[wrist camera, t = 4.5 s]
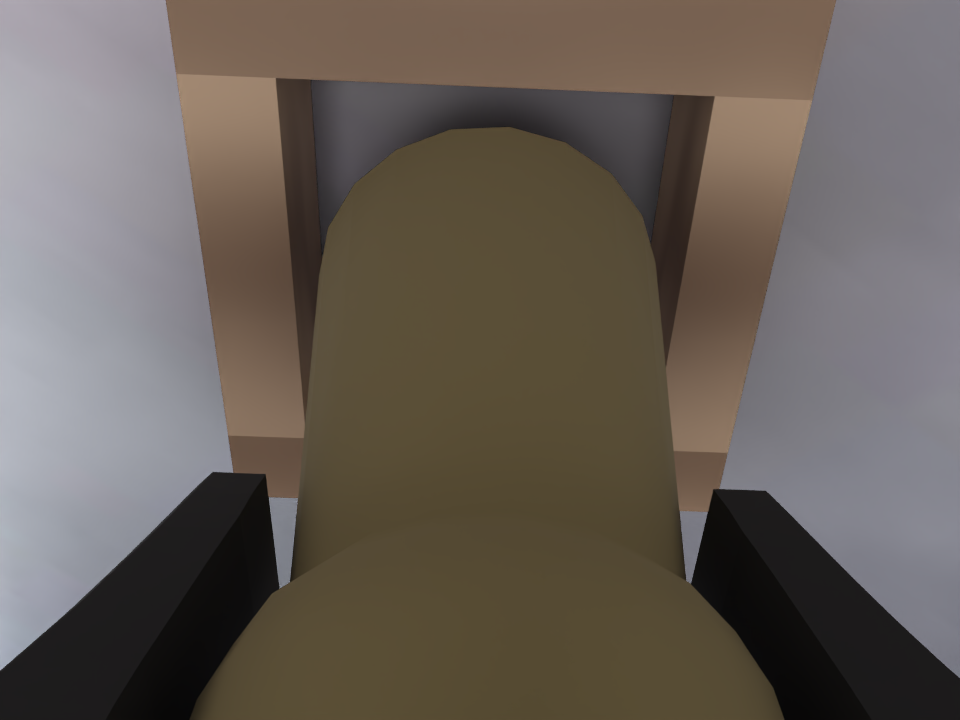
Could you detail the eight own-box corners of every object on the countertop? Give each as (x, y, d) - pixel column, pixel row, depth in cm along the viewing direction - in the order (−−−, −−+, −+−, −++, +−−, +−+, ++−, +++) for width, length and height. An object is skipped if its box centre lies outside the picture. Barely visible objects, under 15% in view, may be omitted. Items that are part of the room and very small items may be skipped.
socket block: (685, 436, 21) (713, 512, 19) (267, 421, 21) (236, 495, 19) (779, -24, 16) (837, -7, 13) (214, -49, 16) (160, -36, 13)
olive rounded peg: (390, 61, 12) (111, 725, 3) (723, 215, 14) (1204, 993, 5) (277, 361, 15) (-35, 1146, 6) (558, 463, 17) (645, 1232, 8)
